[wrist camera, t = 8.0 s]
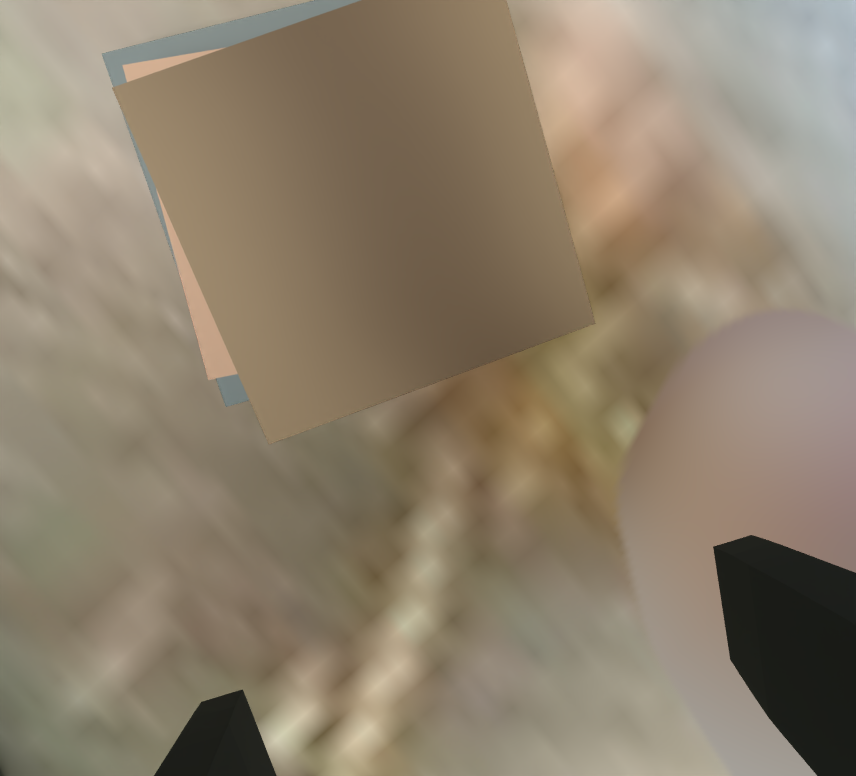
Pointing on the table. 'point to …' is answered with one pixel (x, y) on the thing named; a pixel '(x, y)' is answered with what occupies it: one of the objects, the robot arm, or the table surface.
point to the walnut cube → (363, 203)
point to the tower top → (202, 319)
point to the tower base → (200, 42)
